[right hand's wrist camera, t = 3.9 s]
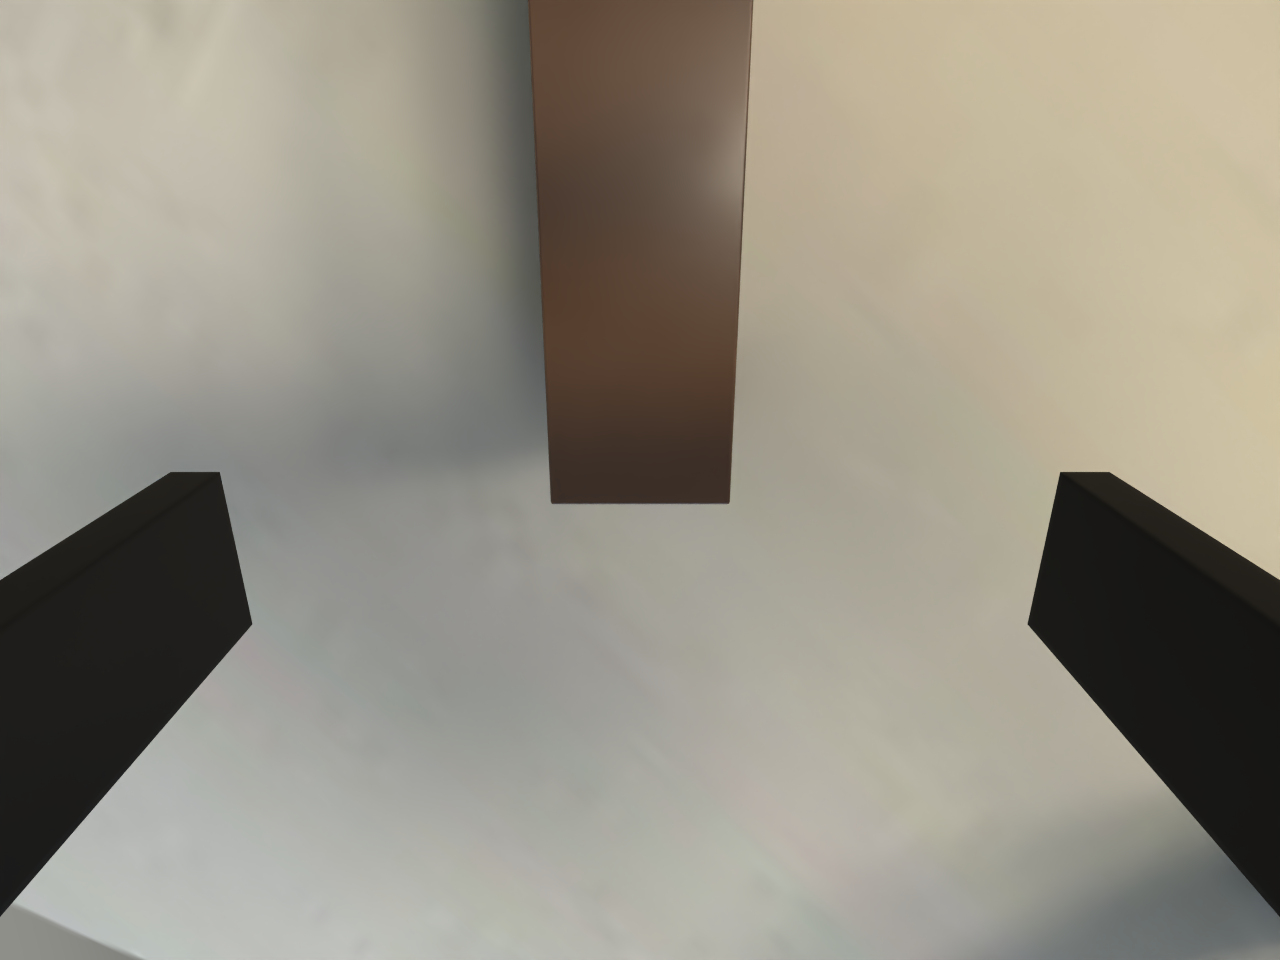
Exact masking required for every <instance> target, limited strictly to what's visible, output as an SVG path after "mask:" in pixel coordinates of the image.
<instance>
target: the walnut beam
mask: <svg viewBox="0 0 1280 960" xmlns="http://www.w3.org/2000/svg"><path fill="white" fill-rule="evenodd" d="M528 13H529V35H530V57H531V78H532V100H533V122H534V144H535V166H536V187H537V209H538V231H539V253H540V275H541V297H542V318H543V340H544V362H545V384H546V406H547V427H548V449H549V471H550V493H551V503H552V504H729V502H730V484H731V463H732V441H733V420H734V399H735V378H736V356H737V335H738V314H739V293H740V271H741V250H742V229H743V207H744V186H745V165H746V144H747V122H748V101H749V80H750V58H751V37H752V16H753V0H528Z"/></svg>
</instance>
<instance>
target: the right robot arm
mask: <svg viewBox="0 0 1280 960" xmlns="http://www.w3.org/2000/svg"><path fill="white" fill-rule="evenodd" d="M251 625H252V620H251V616H250V611H249V606H248V602H247V597H246V592H245V588H244V583H243V578H242V574H241V569H240V564H239V560H238V555H237V550H236V546H235V541H234V537H233V532H232V527H231V523H230V518H229V513H228V509H227V504H226V499H225V495H224V490H223V485H222V481H221V476H220V472H170V473H169V474H167V475H165V476H164V477H162V478H161V479H159V480H157V481H156V482H154V483H153V484H151V485H150V486H148V487H146V488H145V489H143V490H142V491H140V492H139V493H137V494H135V495H134V496H132V497H131V498H129V499H127V500H126V501H124V502H123V503H121V504H120V505H118V506H116V507H115V508H113V509H112V510H110V511H109V512H107V513H105V514H104V515H102V516H101V517H99V518H98V519H96V520H94V521H93V522H91V523H90V524H88V525H86V526H85V527H83V528H82V529H80V530H79V531H77V532H75V533H74V534H72V535H71V536H69V537H68V538H66V539H64V540H63V541H61V542H60V543H58V544H57V545H55V546H53V547H52V548H50V549H49V550H47V551H45V552H44V553H42V554H41V555H39V556H38V557H36V558H34V559H33V560H31V561H30V562H28V563H27V564H25V565H23V566H22V567H20V568H19V569H17V570H15V571H14V572H12V573H11V574H9V575H8V576H6V577H4V578H3V579H1V580H0V916H1V915H2V914H3V913H4V912H5V910H6V909H7V908H8V907H9V906H10V905H11V904H12V902H13V901H14V900H15V899H16V898H17V897H18V895H19V894H20V893H21V892H22V891H23V890H24V888H25V887H26V886H27V885H28V884H29V883H30V881H31V880H32V879H33V878H34V877H35V876H36V875H37V873H38V872H39V871H40V870H41V869H42V868H43V866H44V865H45V864H46V863H47V862H48V861H49V859H50V858H51V857H52V856H53V855H54V854H55V852H56V851H57V850H58V849H59V848H60V847H61V846H62V844H63V843H64V842H65V841H66V840H67V839H68V837H69V836H70V835H71V834H72V833H73V832H74V830H75V829H76V828H77V827H78V826H79V825H80V824H81V822H82V821H83V820H84V819H85V818H86V817H87V815H88V814H89V813H90V812H91V811H92V810H93V808H94V807H95V806H96V805H97V804H98V803H99V801H100V800H101V799H102V798H103V797H104V796H105V795H106V793H107V792H108V791H109V790H110V789H111V788H112V786H113V785H114V784H115V783H116V782H117V781H118V779H119V778H120V777H121V776H122V775H123V774H124V772H125V771H126V770H127V769H128V768H129V767H130V766H131V764H132V763H133V762H134V761H135V760H136V759H137V757H138V756H139V755H140V754H141V753H142V752H143V750H144V749H145V748H146V747H147V746H148V745H149V743H150V742H151V741H152V740H153V739H154V738H155V737H156V735H157V734H158V733H159V732H160V731H161V730H162V728H163V727H164V726H165V725H166V724H167V723H168V721H169V720H170V719H171V718H172V717H173V716H174V714H175V713H176V712H177V711H178V710H179V709H180V708H181V706H182V705H183V704H184V703H185V702H186V701H187V699H188V698H189V697H190V696H191V695H192V694H193V692H194V691H195V690H196V689H197V688H198V687H199V685H200V684H201V683H202V682H203V681H204V680H205V679H206V677H207V676H208V675H209V674H210V673H211V672H212V670H213V669H214V668H215V667H216V666H217V665H218V663H219V662H220V661H221V660H222V659H223V658H224V656H225V655H226V654H227V653H228V652H229V651H230V650H231V648H232V647H233V646H234V645H235V644H236V643H237V641H238V640H239V639H240V638H241V637H242V636H243V634H244V633H245V632H246V631H247V630H248V629H249V627H250V626H251ZM1028 625H1029V626H1030V628H1031V629H1032V630H1033V631H1034V632H1035V633H1036V634H1037V636H1038V637H1039V638H1040V639H1041V640H1042V641H1043V643H1044V644H1045V645H1046V646H1047V647H1048V648H1049V650H1050V651H1051V652H1052V653H1053V654H1054V655H1055V656H1056V658H1057V659H1058V660H1059V661H1060V662H1061V663H1062V665H1063V666H1064V667H1065V668H1066V669H1067V670H1068V672H1069V673H1070V674H1071V675H1072V676H1073V677H1074V679H1075V680H1076V681H1077V682H1078V683H1079V684H1080V685H1081V687H1082V688H1083V689H1084V690H1085V691H1086V692H1087V694H1088V695H1089V696H1090V697H1091V698H1092V699H1093V701H1094V702H1095V703H1096V704H1097V705H1098V706H1099V708H1100V709H1101V710H1102V711H1103V712H1104V713H1105V714H1106V716H1107V717H1108V718H1109V719H1110V720H1111V721H1112V723H1113V724H1114V725H1115V726H1116V727H1117V728H1118V730H1119V731H1120V732H1121V733H1122V734H1123V735H1124V737H1125V738H1126V739H1127V740H1128V741H1129V742H1130V743H1131V745H1132V746H1133V747H1134V748H1135V749H1136V750H1137V752H1138V753H1139V754H1140V755H1141V756H1142V757H1143V759H1144V760H1145V761H1146V762H1147V763H1148V764H1149V766H1150V767H1151V768H1152V769H1153V770H1154V771H1155V772H1156V774H1157V775H1158V776H1159V777H1160V778H1161V779H1162V781H1163V782H1164V783H1165V784H1166V785H1167V786H1168V788H1169V789H1170V790H1171V791H1172V792H1173V793H1174V795H1175V796H1176V797H1177V798H1178V799H1179V800H1180V801H1181V803H1182V804H1183V805H1184V806H1185V807H1186V808H1187V810H1188V811H1189V812H1190V813H1191V814H1192V815H1193V817H1194V818H1195V819H1196V820H1197V821H1198V822H1199V824H1200V825H1201V826H1202V827H1203V828H1204V829H1205V830H1206V832H1207V833H1208V834H1209V835H1210V836H1211V837H1212V839H1213V840H1214V841H1215V842H1216V843H1217V844H1218V846H1219V847H1220V848H1221V849H1222V850H1223V851H1224V853H1225V854H1226V855H1227V856H1228V857H1229V858H1230V859H1231V861H1232V862H1233V863H1234V864H1235V865H1236V866H1237V868H1238V869H1239V870H1240V871H1241V872H1242V873H1243V875H1244V876H1245V877H1246V878H1247V879H1248V880H1249V881H1250V883H1251V884H1252V885H1253V886H1254V887H1255V888H1256V890H1257V891H1258V892H1259V893H1260V894H1261V895H1262V897H1263V898H1264V899H1265V900H1266V901H1267V902H1268V904H1269V905H1270V906H1271V907H1272V908H1273V909H1274V910H1275V912H1276V913H1277V914H1278V915H1279V916H1280V580H1279V579H1277V578H1276V577H1274V576H1272V575H1271V574H1269V573H1268V572H1266V571H1265V570H1263V569H1261V568H1260V567H1258V566H1257V565H1255V564H1253V563H1252V562H1250V561H1249V560H1247V559H1246V558H1244V557H1242V556H1241V555H1239V554H1238V553H1236V552H1235V551H1233V550H1231V549H1230V548H1228V547H1227V546H1225V545H1223V544H1222V543H1220V542H1219V541H1217V540H1216V539H1214V538H1212V537H1211V536H1209V535H1208V534H1206V533H1205V532H1203V531H1201V530H1200V529H1198V528H1197V527H1195V526H1194V525H1192V524H1190V523H1189V522H1187V521H1186V520H1184V519H1182V518H1181V517H1179V516H1178V515H1176V514H1175V513H1173V512H1171V511H1170V510H1168V509H1167V508H1165V507H1164V506H1162V505H1160V504H1159V503H1157V502H1156V501H1154V500H1153V499H1151V498H1149V497H1148V496H1146V495H1145V494H1143V493H1141V492H1140V491H1138V490H1137V489H1135V488H1134V487H1132V486H1130V485H1129V484H1127V483H1126V482H1124V481H1123V480H1121V479H1119V478H1118V477H1116V476H1115V475H1113V474H1111V473H1110V472H1060V476H1059V481H1058V485H1057V490H1056V495H1055V499H1054V504H1053V509H1052V513H1051V518H1050V523H1049V527H1048V532H1047V537H1046V541H1045V546H1044V550H1043V555H1042V560H1041V564H1040V569H1039V574H1038V578H1037V583H1036V588H1035V592H1034V597H1033V602H1032V606H1031V611H1030V616H1029V620H1028Z"/></svg>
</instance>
